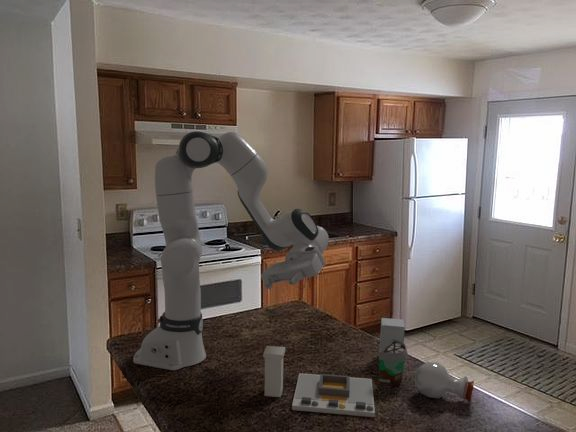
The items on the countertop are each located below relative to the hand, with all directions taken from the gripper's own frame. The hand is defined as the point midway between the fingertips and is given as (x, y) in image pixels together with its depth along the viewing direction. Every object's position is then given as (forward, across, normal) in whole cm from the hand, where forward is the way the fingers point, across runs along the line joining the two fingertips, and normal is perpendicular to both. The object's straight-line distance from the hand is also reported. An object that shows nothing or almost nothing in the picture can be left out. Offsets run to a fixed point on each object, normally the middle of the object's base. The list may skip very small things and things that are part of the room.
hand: (279, 285), depth 136 cm
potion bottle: (-1, +33, +43) cm, 55 cm away
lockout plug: (+19, -3, +22) cm, 29 cm away
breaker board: (+13, +11, +30) cm, 34 cm away
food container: (-4, +20, +40) cm, 44 cm away
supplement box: (-16, +13, +42) cm, 47 cm away
